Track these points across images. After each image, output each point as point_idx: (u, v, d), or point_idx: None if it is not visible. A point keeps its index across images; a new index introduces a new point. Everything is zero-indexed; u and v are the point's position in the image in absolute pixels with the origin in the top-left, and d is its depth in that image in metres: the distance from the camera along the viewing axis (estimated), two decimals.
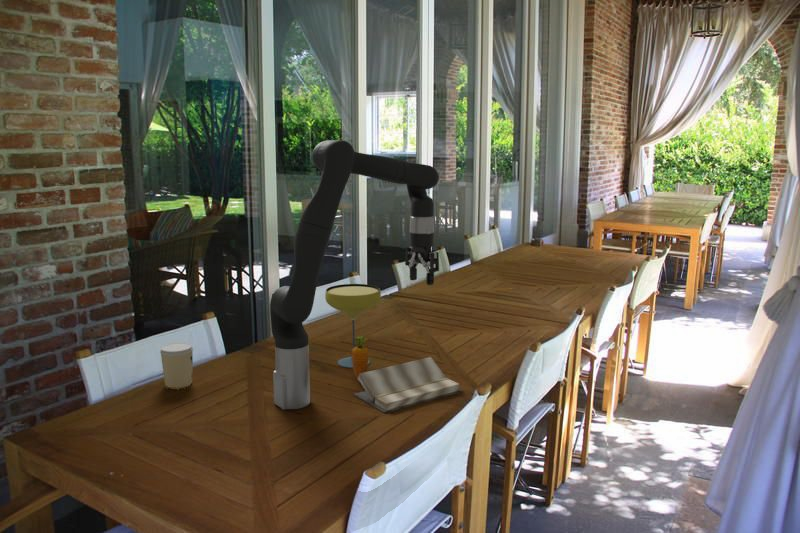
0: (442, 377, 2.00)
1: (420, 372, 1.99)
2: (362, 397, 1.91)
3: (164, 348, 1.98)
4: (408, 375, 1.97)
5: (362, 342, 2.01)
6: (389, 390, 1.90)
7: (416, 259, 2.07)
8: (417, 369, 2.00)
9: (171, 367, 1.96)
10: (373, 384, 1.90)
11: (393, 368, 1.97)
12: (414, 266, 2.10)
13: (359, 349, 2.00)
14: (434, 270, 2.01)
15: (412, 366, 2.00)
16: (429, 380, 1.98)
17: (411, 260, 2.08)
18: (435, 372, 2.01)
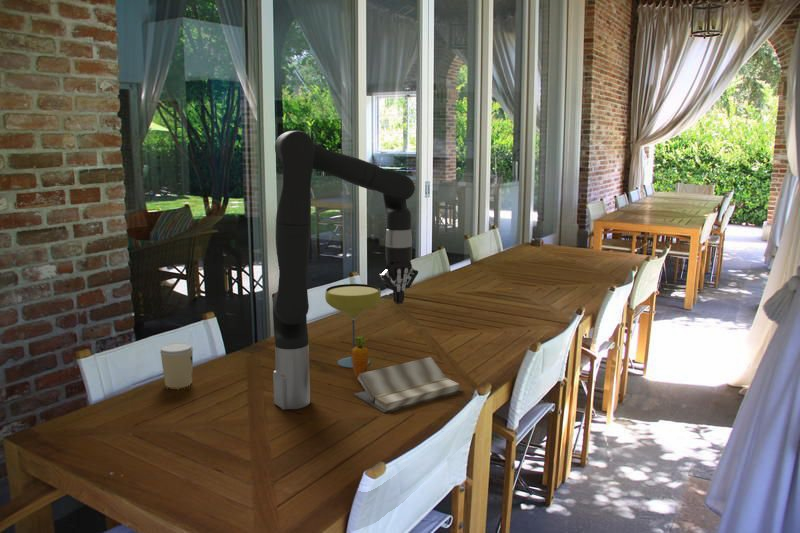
0: (442, 377, 2.00)
1: (420, 372, 1.99)
2: (362, 397, 1.91)
3: (164, 348, 1.98)
4: (408, 375, 1.97)
5: (362, 342, 2.01)
6: (389, 390, 1.90)
7: None
8: (417, 369, 2.00)
9: (171, 367, 1.96)
10: (373, 384, 1.90)
11: (393, 368, 1.97)
12: None
13: (359, 349, 2.00)
14: None
15: (412, 366, 2.00)
16: (429, 380, 1.98)
17: (399, 280, 1.91)
18: (435, 372, 2.01)
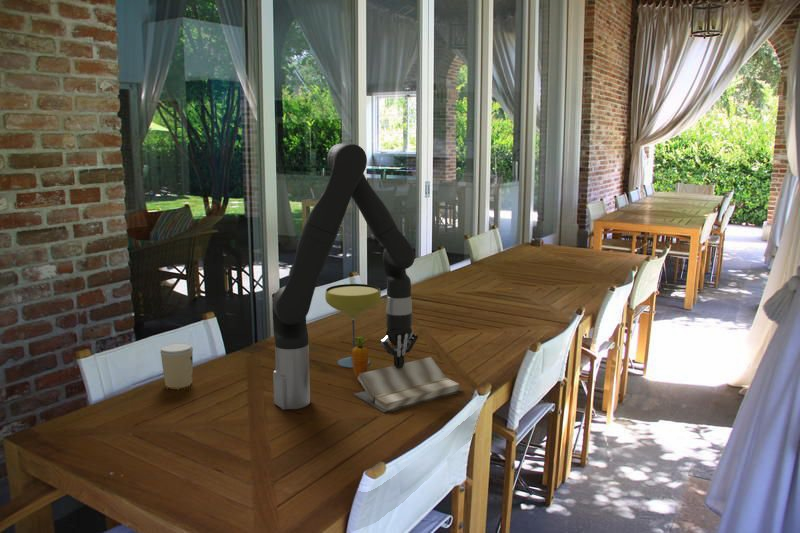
0: (442, 377, 2.00)
1: (420, 372, 1.99)
2: (362, 397, 1.91)
3: (164, 348, 1.98)
4: (408, 375, 1.97)
5: (362, 342, 2.01)
6: (389, 390, 1.90)
7: (401, 339, 1.95)
8: (417, 369, 2.00)
9: (171, 367, 1.96)
10: (373, 384, 1.90)
11: (393, 368, 1.97)
12: None
13: (359, 349, 2.00)
14: None
15: (412, 366, 2.00)
16: (429, 380, 1.98)
17: (399, 346, 1.95)
18: (435, 372, 2.01)
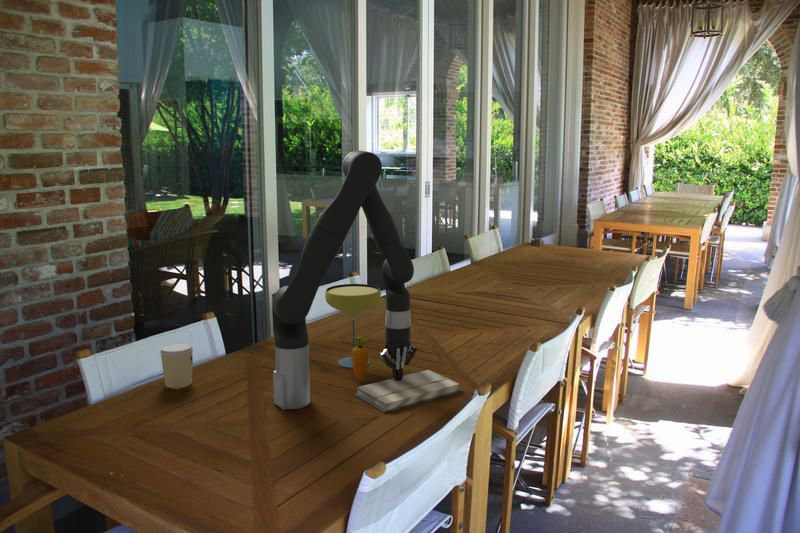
0: (442, 378, 2.01)
1: (419, 378, 2.00)
2: (362, 397, 1.91)
3: (164, 348, 1.98)
4: (407, 381, 1.98)
5: (362, 342, 2.01)
6: (388, 391, 1.90)
7: (399, 352, 1.97)
8: (415, 377, 2.01)
9: (171, 367, 1.96)
10: (372, 391, 1.90)
11: (391, 380, 1.99)
12: None
13: (359, 349, 2.00)
14: None
15: (410, 377, 2.02)
16: (429, 381, 1.98)
17: (398, 359, 1.96)
18: (434, 376, 2.02)
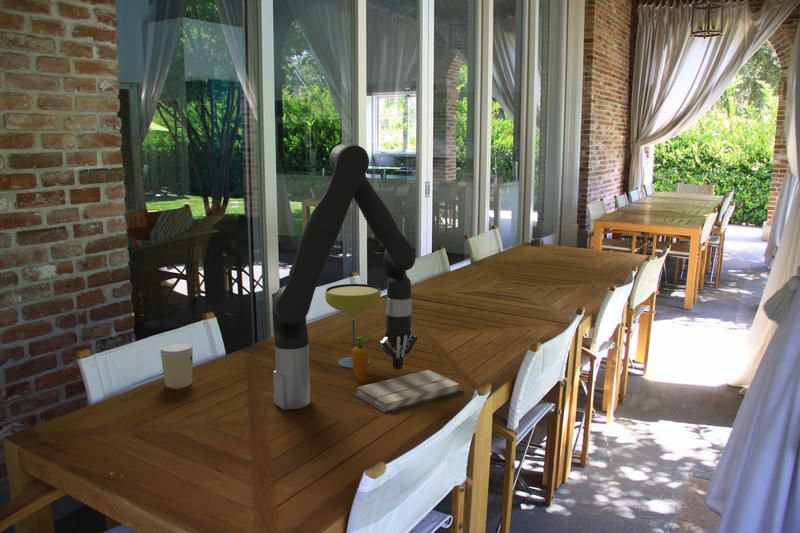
0: (442, 378, 2.01)
1: (419, 378, 2.00)
2: (362, 397, 1.91)
3: (164, 348, 1.98)
4: (407, 381, 1.98)
5: (362, 342, 2.01)
6: (388, 391, 1.90)
7: (400, 341, 1.95)
8: (415, 377, 2.01)
9: (171, 367, 1.96)
10: (372, 391, 1.90)
11: (391, 380, 1.99)
12: None
13: (359, 349, 2.00)
14: None
15: (410, 377, 2.02)
16: (429, 381, 1.98)
17: (398, 347, 1.95)
18: (434, 376, 2.02)
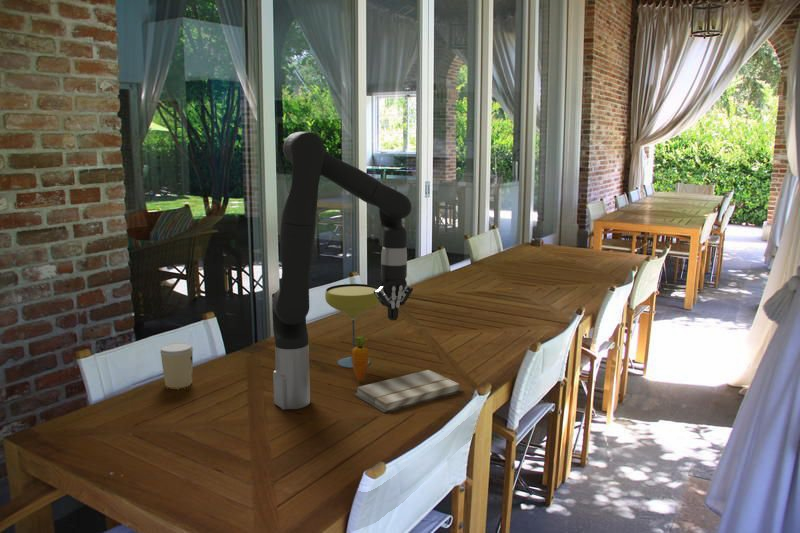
0: (442, 378, 2.01)
1: (419, 378, 2.00)
2: (362, 397, 1.91)
3: (164, 348, 1.98)
4: (407, 381, 1.98)
5: (362, 342, 2.01)
6: (388, 391, 1.90)
7: (395, 291, 1.94)
8: (415, 377, 2.01)
9: (171, 367, 1.96)
10: (372, 391, 1.90)
11: (391, 380, 1.99)
12: None
13: (359, 349, 2.00)
14: None
15: (410, 377, 2.02)
16: (429, 381, 1.98)
17: (393, 297, 1.94)
18: (434, 376, 2.02)
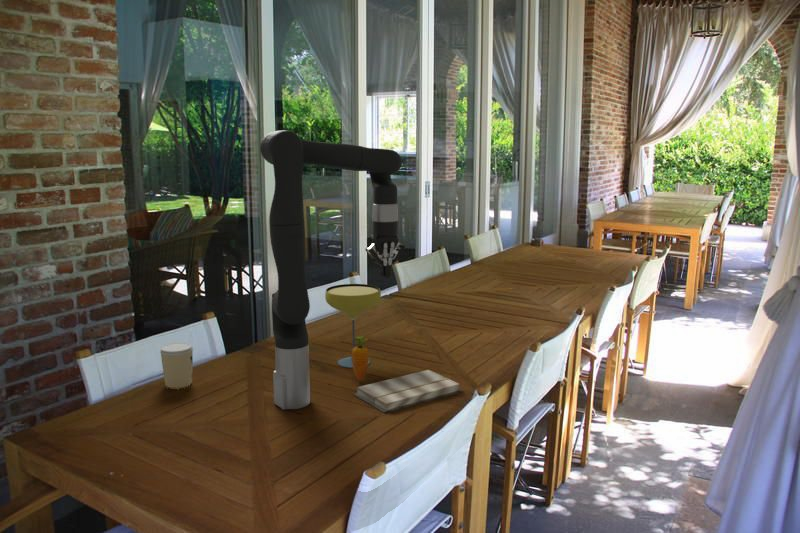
0: (442, 378, 2.01)
1: (419, 378, 2.00)
2: (362, 397, 1.91)
3: (164, 348, 1.98)
4: (407, 381, 1.98)
5: (362, 342, 2.01)
6: (388, 391, 1.90)
7: (387, 248, 1.94)
8: (415, 377, 2.01)
9: (171, 367, 1.96)
10: (372, 391, 1.90)
11: (391, 380, 1.99)
12: None
13: (359, 349, 2.00)
14: None
15: (410, 377, 2.02)
16: (429, 381, 1.98)
17: (385, 254, 1.93)
18: (434, 376, 2.02)
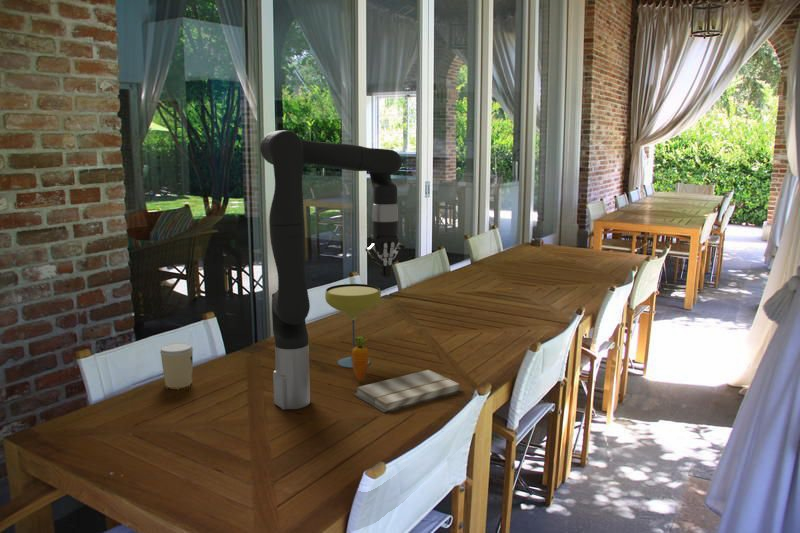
0: (442, 378, 2.01)
1: (419, 378, 2.00)
2: (362, 397, 1.91)
3: (164, 348, 1.98)
4: (407, 381, 1.98)
5: (362, 342, 2.01)
6: (388, 391, 1.90)
7: (387, 248, 1.94)
8: (415, 377, 2.01)
9: (171, 367, 1.96)
10: (372, 391, 1.90)
11: (391, 380, 1.99)
12: None
13: (359, 349, 2.00)
14: None
15: (410, 377, 2.02)
16: (429, 381, 1.98)
17: (385, 254, 1.93)
18: (434, 376, 2.02)
